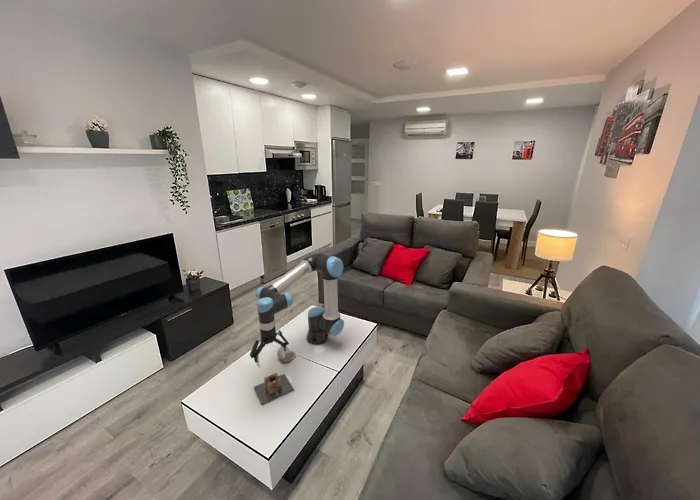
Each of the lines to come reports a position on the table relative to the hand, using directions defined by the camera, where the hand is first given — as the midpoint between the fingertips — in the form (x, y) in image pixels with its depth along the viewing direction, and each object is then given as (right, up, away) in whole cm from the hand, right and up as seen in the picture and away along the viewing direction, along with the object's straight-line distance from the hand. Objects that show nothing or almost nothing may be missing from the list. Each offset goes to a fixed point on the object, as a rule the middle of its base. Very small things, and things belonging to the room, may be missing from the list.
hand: (271, 361), depth 154 cm
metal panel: (0, -18, +6) cm, 19 cm away
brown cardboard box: (0, -17, +5) cm, 18 cm away
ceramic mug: (+2, -10, +30) cm, 32 cm away
